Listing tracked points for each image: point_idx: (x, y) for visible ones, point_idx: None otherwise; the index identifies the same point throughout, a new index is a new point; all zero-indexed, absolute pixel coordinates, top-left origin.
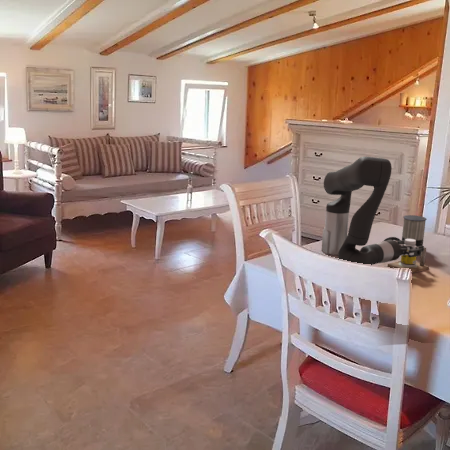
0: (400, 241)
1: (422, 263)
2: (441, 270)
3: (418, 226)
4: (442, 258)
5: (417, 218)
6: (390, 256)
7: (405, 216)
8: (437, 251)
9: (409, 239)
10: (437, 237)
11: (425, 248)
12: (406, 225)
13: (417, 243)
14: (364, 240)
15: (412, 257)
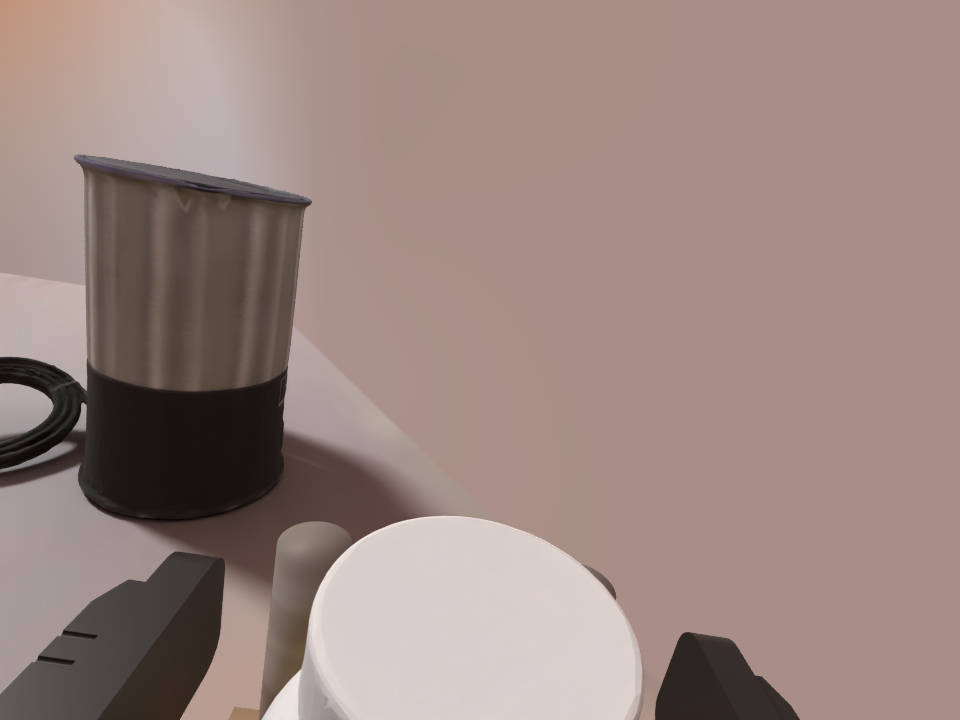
0: (118, 700)
1: None
2: (651, 710)
3: (264, 256)
4: (430, 476)
5: (230, 185)
6: None
7: (98, 158)
8: (340, 412)
9: (429, 584)
10: None
11: (614, 595)
12: (129, 246)
13: (258, 410)
14: None
15: None
